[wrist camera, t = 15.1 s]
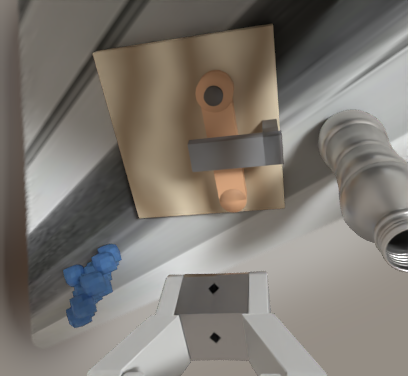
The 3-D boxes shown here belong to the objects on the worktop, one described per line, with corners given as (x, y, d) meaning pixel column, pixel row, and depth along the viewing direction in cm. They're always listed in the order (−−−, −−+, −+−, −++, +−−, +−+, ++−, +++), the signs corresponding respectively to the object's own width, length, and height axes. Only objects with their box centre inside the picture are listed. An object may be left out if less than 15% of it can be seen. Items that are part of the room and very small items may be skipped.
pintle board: (272, 23, 36) (275, 31, 30) (284, 201, 45) (287, 231, 40) (97, 50, 39) (72, 62, 34) (142, 211, 48) (128, 240, 43)
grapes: (94, 210, 49) (51, 272, 39) (141, 232, 50) (111, 298, 40) (71, 268, 55) (28, 336, 44) (113, 287, 56) (81, 357, 45)
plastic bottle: (356, 170, 42) (426, 304, 25) (302, 145, 41) (336, 265, 24) (392, 120, 39) (502, 233, 22) (335, 92, 38) (401, 187, 21)
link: (195, 73, 37) (191, 78, 35) (231, 67, 36) (229, 72, 35) (220, 204, 44) (219, 214, 42) (251, 201, 43) (250, 211, 42)
